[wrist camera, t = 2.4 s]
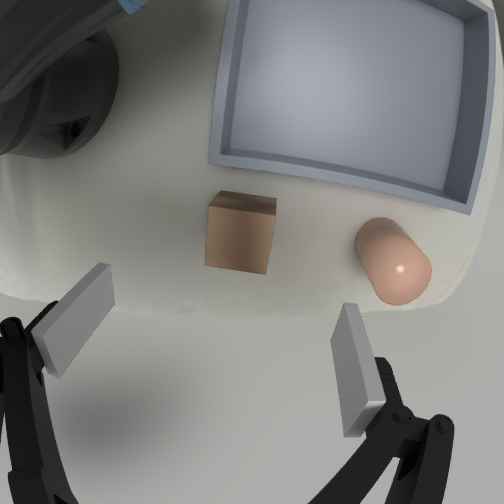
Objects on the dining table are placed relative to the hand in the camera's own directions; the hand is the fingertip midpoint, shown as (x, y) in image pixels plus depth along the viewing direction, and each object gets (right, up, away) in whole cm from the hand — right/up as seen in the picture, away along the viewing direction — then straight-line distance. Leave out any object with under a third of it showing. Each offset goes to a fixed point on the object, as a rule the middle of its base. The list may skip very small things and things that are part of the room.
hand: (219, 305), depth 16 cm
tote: (+11, +18, +5) cm, 22 cm away
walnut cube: (+1, +6, +12) cm, 13 cm away
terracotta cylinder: (+14, +4, +11) cm, 18 cm away
